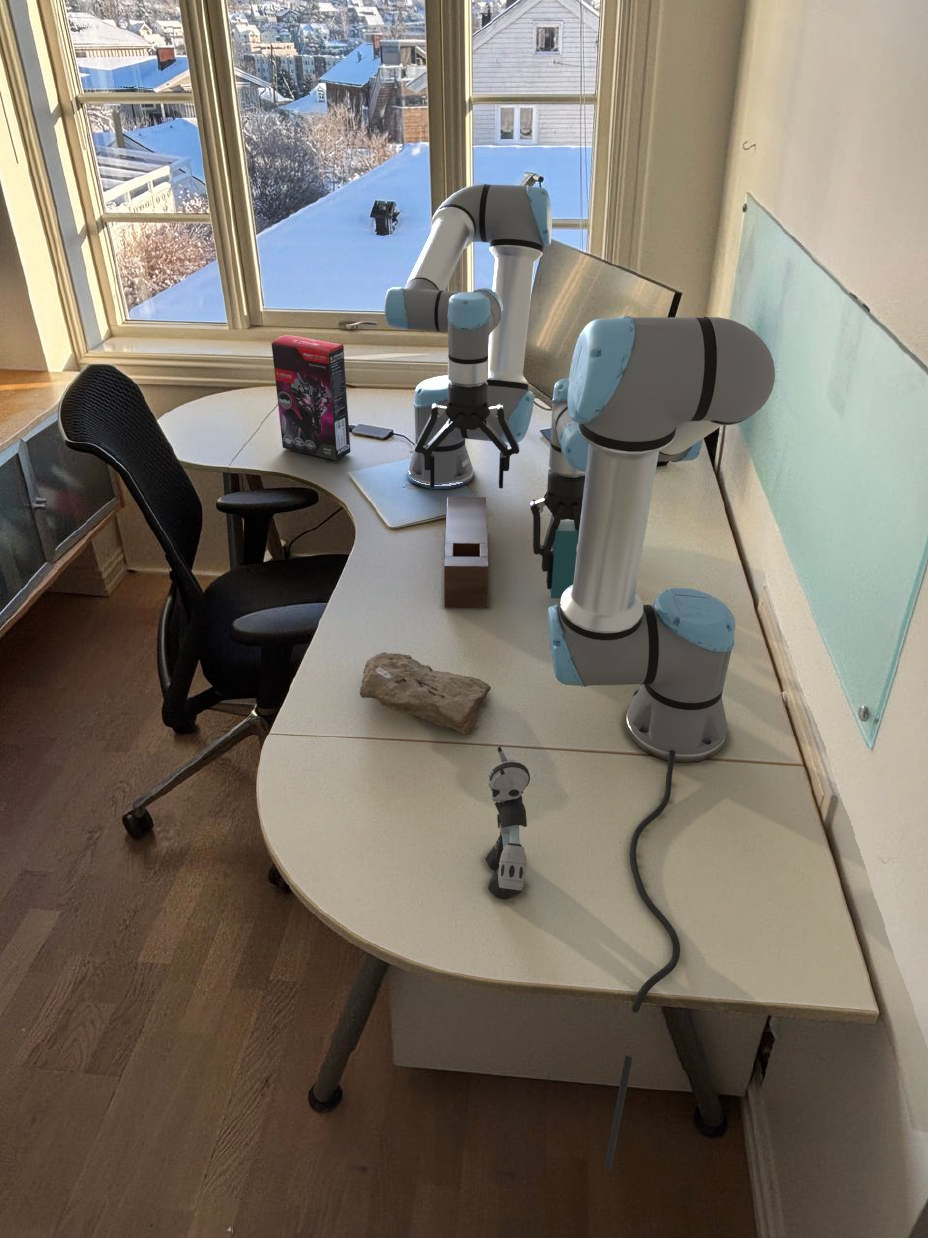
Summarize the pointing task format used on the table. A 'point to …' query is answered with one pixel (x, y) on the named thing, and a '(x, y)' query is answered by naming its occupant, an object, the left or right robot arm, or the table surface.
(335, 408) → the graphics card box
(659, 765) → the table surface
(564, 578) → the peg
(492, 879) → the robot
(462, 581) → the hole block
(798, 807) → the table surface
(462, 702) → the stone
